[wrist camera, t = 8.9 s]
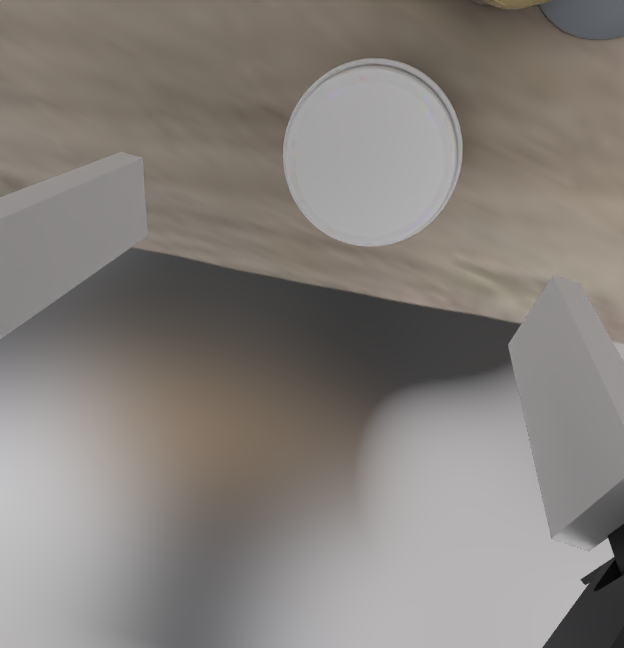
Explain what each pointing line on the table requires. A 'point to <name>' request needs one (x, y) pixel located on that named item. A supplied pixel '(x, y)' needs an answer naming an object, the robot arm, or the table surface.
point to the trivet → (587, 17)
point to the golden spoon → (514, 3)
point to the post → (480, 2)
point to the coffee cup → (372, 152)
